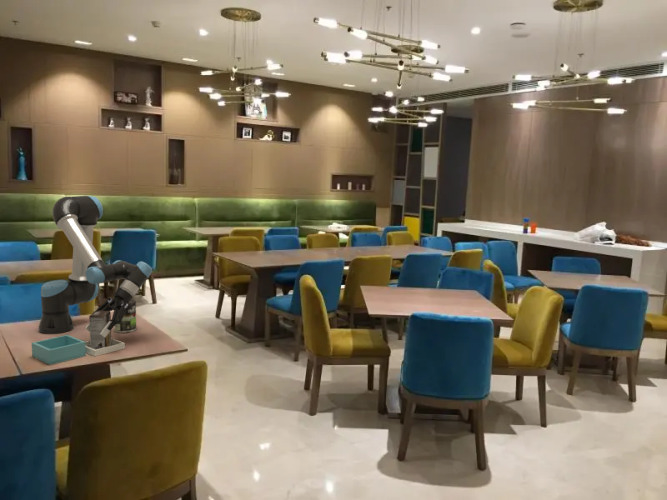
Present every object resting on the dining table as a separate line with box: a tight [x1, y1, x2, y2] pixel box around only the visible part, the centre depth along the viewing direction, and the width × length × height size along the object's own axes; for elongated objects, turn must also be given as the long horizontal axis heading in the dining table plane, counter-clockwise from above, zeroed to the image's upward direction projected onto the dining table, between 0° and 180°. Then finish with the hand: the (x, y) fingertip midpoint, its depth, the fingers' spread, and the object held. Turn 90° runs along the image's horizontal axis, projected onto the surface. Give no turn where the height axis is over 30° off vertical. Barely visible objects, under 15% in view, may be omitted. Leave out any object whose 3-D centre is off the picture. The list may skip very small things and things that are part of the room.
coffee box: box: [88, 310, 112, 350], centre depth 243 cm, size 9×6×16 cm
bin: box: [31, 334, 87, 366], centre depth 233 cm, size 15×15×6 cm
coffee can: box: [113, 299, 137, 334], centre depth 272 cm, size 10×10×14 cm
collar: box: [84, 337, 126, 357], centre depth 244 cm, size 14×14×2 cm
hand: (94, 332), depth 241 cm, fingers open, 11 cm apart
